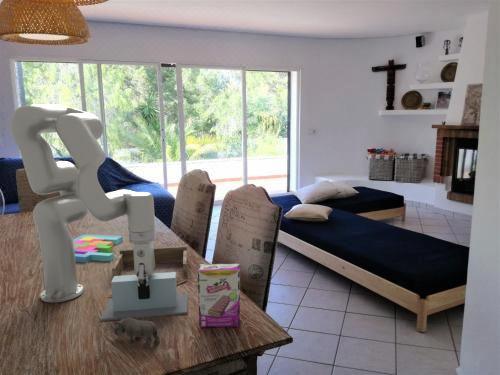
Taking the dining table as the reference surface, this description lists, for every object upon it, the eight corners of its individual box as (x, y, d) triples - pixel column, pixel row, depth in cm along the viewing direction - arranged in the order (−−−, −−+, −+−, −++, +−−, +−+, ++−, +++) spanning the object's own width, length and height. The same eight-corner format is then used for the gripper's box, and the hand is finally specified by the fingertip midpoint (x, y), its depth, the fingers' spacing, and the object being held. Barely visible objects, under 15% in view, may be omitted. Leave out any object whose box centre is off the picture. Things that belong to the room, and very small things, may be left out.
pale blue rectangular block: (176, 306, 118) (175, 277, 116) (113, 311, 115) (111, 282, 113) (177, 299, 122) (175, 271, 120) (116, 304, 119) (114, 276, 118)
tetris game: (43, 260, 161) (106, 265, 155) (42, 254, 160) (105, 258, 154) (84, 240, 188) (139, 242, 182) (84, 234, 187) (139, 237, 181)
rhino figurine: (117, 331, 106) (115, 310, 104) (162, 341, 101) (161, 319, 100) (107, 340, 102) (105, 318, 101) (153, 349, 97) (152, 327, 96)
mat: (187, 313, 114) (187, 311, 114) (100, 320, 111) (100, 318, 111) (187, 295, 126) (187, 293, 126) (109, 301, 123) (108, 299, 123)
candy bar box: (199, 328, 106) (196, 270, 103) (200, 319, 111) (198, 263, 108) (241, 327, 106) (239, 269, 104) (240, 318, 111) (239, 262, 109)
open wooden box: (186, 277, 141) (186, 261, 140) (112, 282, 137) (111, 265, 136) (187, 260, 157) (186, 245, 156) (121, 264, 154) (120, 249, 153)
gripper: (152, 243, 107) (156, 305, 110) (157, 226, 124) (161, 280, 127) (123, 245, 106) (128, 307, 109) (133, 227, 123) (136, 281, 126)
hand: (145, 292), depth 118 cm, fingers open, 7 cm apart
